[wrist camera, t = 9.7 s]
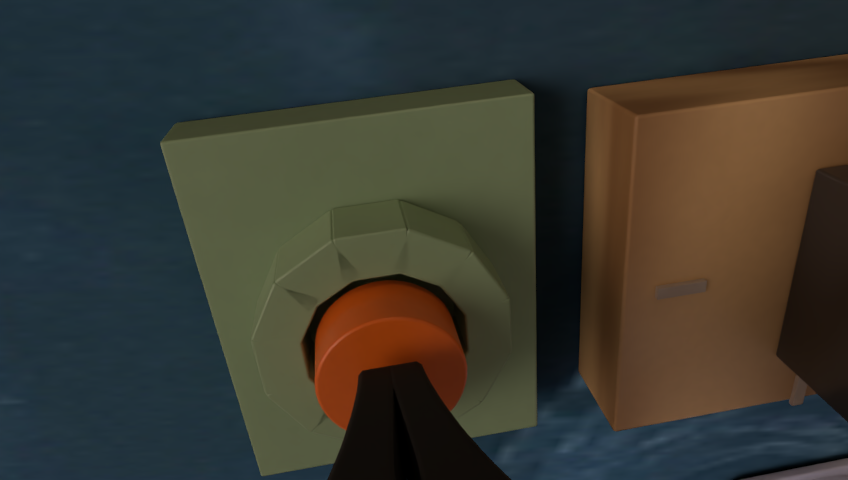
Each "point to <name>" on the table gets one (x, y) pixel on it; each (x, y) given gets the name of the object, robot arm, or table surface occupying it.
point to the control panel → (700, 234)
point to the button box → (364, 244)
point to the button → (385, 343)
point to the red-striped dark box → (821, 294)
